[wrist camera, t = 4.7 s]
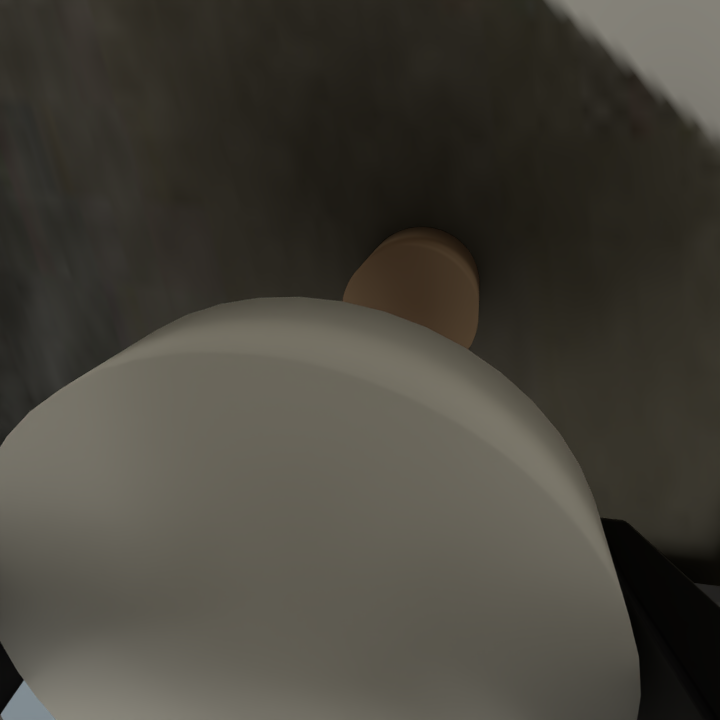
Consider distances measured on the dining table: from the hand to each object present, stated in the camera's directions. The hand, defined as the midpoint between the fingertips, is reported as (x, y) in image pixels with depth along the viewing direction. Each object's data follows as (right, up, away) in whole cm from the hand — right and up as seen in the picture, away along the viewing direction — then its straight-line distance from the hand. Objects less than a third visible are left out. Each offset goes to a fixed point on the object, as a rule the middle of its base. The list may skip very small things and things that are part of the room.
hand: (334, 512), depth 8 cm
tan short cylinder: (+2, +5, +11) cm, 12 cm away
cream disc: (0, 0, -1) cm, 1 cm away
